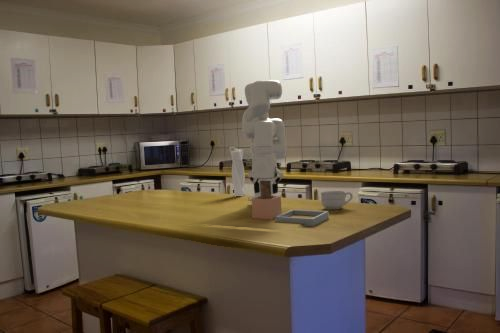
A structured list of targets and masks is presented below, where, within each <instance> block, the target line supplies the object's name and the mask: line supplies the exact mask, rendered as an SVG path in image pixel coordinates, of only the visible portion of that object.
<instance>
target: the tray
mask: <svg viewBox="0 0 500 333" xmlns="http://www.w3.org/2000/svg"><path fill="white" fill-rule="evenodd" d="M294 215H295V217H293V216H294ZM296 215H297V216H311V217H296ZM312 216H314V217H312ZM328 219H330V218H329V211H325V210H308V209H307V210H306V209H304V210H303V209H291V210H288V211H287V212H284V213H282V214H281V215H278V216H276V217H275V218H274V220H275V222H276V223H277V222H280V223H295V224H300V226H301V227H304V226H305V227H315V226H317V225H319V224H320V223H322V222H325V221H326V220H328Z"/></svg>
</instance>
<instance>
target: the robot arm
mask: <svg viewBox="0 0 500 333" xmlns="http://www.w3.org/2000/svg"><path fill="white" fill-rule="evenodd" d="M282 94H283V86H282V83H281V82H280V81H279V80H277V79H269V80H256V81H255V82H251V83H248V84H246V85H245V86H244V95H245V100H246V103H247V105H248V107H247V108H246V110H245V111H244V112H243V115H242V118H241V125H242V126H241V130H242V135H243V137H244V138H246V140H247V139H248V140H251V139H252V140H253V139H254V141H253V142H252V143H251V144H250V147H249V150H250V156H251V170H250V171H249V172H247V173H246V174H247V177H248V178H249V180H250V181H251V182H252V184H253V196H248V198H247V201H248V202H252V198H256V197H259V196H261V191H260V181H262V180H271V195H272V196H275V194H278V192H279V183H280V181H281V180H282V179H283V177H284V174H285V173H284V172H282V170H280V169H279V168H278V162H277V160H278V161H279V160H284V159H285V158H286V157H287V152H288V151H287V140H286V128H285V123H284V121H283V120H282V119H281V118H270V117H269V110H270V108H271V101H272V100H279V99H281V97H282Z"/></svg>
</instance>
